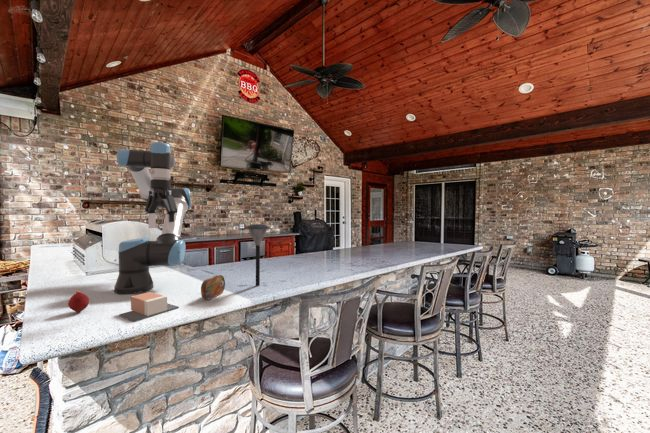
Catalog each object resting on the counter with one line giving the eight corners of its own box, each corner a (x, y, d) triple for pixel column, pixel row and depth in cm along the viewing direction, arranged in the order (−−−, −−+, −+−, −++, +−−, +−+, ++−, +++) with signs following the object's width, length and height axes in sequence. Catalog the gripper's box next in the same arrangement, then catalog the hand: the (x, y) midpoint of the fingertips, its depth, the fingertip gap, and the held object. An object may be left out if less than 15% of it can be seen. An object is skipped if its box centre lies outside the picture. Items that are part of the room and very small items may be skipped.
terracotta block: (130, 296, 110) (147, 301, 104) (150, 291, 116) (167, 296, 110) (131, 310, 110) (147, 316, 104) (150, 304, 116) (167, 310, 110)
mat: (119, 315, 106) (119, 314, 106) (163, 303, 119) (163, 302, 119) (134, 321, 100) (134, 320, 100) (178, 308, 114) (178, 306, 114)
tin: (206, 302, 122) (206, 281, 122) (199, 301, 122) (199, 281, 122) (225, 291, 137) (225, 273, 136) (219, 291, 137) (219, 272, 137)
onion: (89, 308, 112) (88, 287, 112) (89, 313, 108) (89, 290, 108) (68, 311, 109) (68, 290, 108) (68, 316, 104) (67, 293, 104)
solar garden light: (259, 290, 139) (259, 225, 138) (239, 286, 145) (239, 224, 144) (275, 284, 150) (275, 224, 149) (256, 281, 156) (256, 223, 154)
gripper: (135, 179, 132) (136, 228, 132) (169, 177, 119) (169, 231, 120) (153, 181, 138) (153, 227, 139) (186, 179, 125) (186, 229, 126)
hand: (160, 229), depth 129 cm, fingers open, 13 cm apart
